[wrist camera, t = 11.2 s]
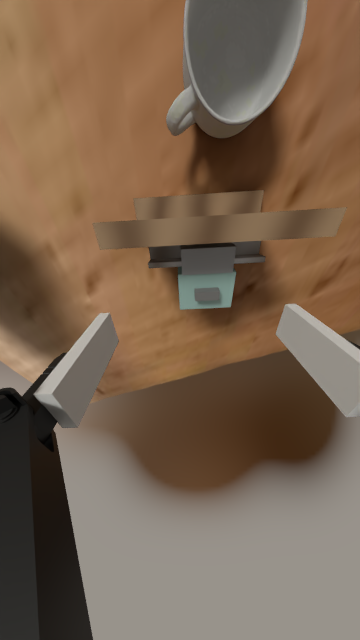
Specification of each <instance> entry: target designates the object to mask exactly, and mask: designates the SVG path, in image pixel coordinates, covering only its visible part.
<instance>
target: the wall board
mask: <svg viewBox="0 0 360 640" xmlns="http://www.w3.org/2000/svg"><path fill="white" fill-rule="evenodd" d="M263 193H264V190H257V191H241V192H226V193H211V194H195V195H180V196H164V197H149V198H134V199H133V200H134V206H135V212H136V218H137V220H133V221H116V222H100V223H93V227H94V230H95V234H96V237H97V241H98V244H99V248H100V250H104V249H122V248H139V247H149V251H150V258H151V260H150V261H149V263H148V265H149V268H163V267H181V266H182V263H181V245H192V244H210V243H227V242H232V243H233V244H234V245H235V246H236V252H235V259H234V264H238V263H256V262H265V256H263V255H260V254H259V249H260V244H261V241H262V240H280V239H298V238H315V237H333V236H336V233H337V231H338V228H339V226H340V223H341V221H342V219H343V216H344V214H345V211H346V209H347V207H345V208H329V209H312V210H296V211H280V212H263V213H260V210H261V205H262V199H263Z"/></svg>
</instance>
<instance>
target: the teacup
mask: <svg viewBox="0 0 360 640" xmlns="http://www.w3.org/2000/svg"><path fill="white" fill-rule="evenodd" d="M306 11H307V0H186V3H185V12H184V47H183V80H184V89H185V90H184V91H183V92H182V93H181V94H180V95H179V96H178V97H177V98H176V100H175V101H174V102H173V104H172V106H171V107H170V109H169V112H168V114H167V119H166V122H167V126H168V129H169V130H170V132H171V133H172V134H173V135H174V136H177V135H179V134H181V133H182V132H184V131H185V130H186V129H187V128H188V127H190V126H191V125H193V124H194V123H197V124H198V126H199V127H200V128H201V129H202V130H203V131H204V132H205V133H207V134H208V135H210V136H212V137H215V138H228V137H231V136H234V135H236V134H238V133H239V132H241V131H242V130H244V129H245V128H246V127H247V126H248V125H250V124H251V123H252V122H253V121H254V120H255V119H256V118H257V117H258V116H259V115H260V114H262V113H263V112H264V111H265V110H266V109H267V108H268V107H269V106H270V105H271V104H272V102H273V101H274V100H275V98H276V97H277V96H278V94H279V93H280V91H281V89H282V88H283V86H284V84H285V82H286V81H287V79H288V77H289V75H290V72H291V70H292V68H293V65H294V63H295V60H296V57H297V54H298V51H299V48H300V44H301V40H302V36H303V31H304V25H305V19H306Z"/></svg>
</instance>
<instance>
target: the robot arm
mask: <svg viewBox="0 0 360 640" xmlns="http://www.w3.org/2000/svg"><path fill="white" fill-rule="evenodd" d="M276 335H277V336H278V338H279V339H280V340H281V341H282V342H283V343H284V345H285V346H286V347H287V348H288V349H289V350H290V351H291V352H292V354H293V355H294V356H295V358H297V360H298V361H299V362H300V363H301V365H302V366H303V367H304V368H305V369H306V370H307V372H308V373H309V374H310V375H311V376H312V377H313V379H314V380H315V381H316V382H317V383H318V384H319V386H320V387H321V388H322V389H323V390H324V392H325V393H326V394H327V395H328V396H329V397H330V399H331V400H332V401H333V402H334V403H335V405H336V406H337V407H338V408H339V409H340V410H341V412H342V413H343V414H344V415H345V416H346V417H356V416H360V346H358V345H356V344H354V343H352V342H350V341H348V340H345V339H344V338H343V337H341V336H340V335H338V334H337V333H336V332H334V331H333V330H332V329H330V328H329V327H327V326H326V325H325V324H323V323H322V322H320V321H319V320H318V319H316V318H315V317H313V316H312V315H311V314H309V313H308V312H306V311H305V310H304V309H302V308H301V307H300V306H298V305H297V304H285V307H284V310H283V313H282V316H281V319H280V322H279V325H278V328H277V331H276ZM118 342H119V340H118V337H117V334H116V331H115V328H114V324H113V321H112V318H111V315H110V313H100V314H99V315H98V316H97V317H96V318H95V320H94V321H93V322H92V323H91V325H90V326H89V327H88V328H87V329H86V331H85V332H84V333H83V334H82V336H81V337H80V338H79V339H78V340H77V342H76V343H75V344H74V345H73V347H72V348H71V349H70V350H69V351H68V353H63V354H61V355H60V356H58V357H57V358H56V359H54V361H53V362H52V363H51V364H50V365H49V366H48V368H47V369H46V370H45V371H44V372H43V374H41V375H40V377H39V378H38V379H37V380H36V381H35V382H34V383H33V385H32V386H31V387H30V388H29V389H28V390H27V392H26V393H25V394H24V395H23V396H21V395H20V394H19V393H18V392H17V391H16V390H15V389H13V388H3V389H0V640H93V637H92V632H91V627H90V621H89V615H88V610H87V604H86V599H85V593H84V588H83V582H82V577H81V571H80V566H79V561H78V555H77V549H76V544H75V538H74V533H73V527H72V522H71V516H70V511H69V505H68V500H67V494H66V489H65V483H64V478H63V472H62V467H61V462H60V456H59V450H58V445H57V439H56V434H55V432H54V430H53V428H54V427H55V425H56V423H57V422H58V423H59V425H61V427H62V428H75V427H78V426H79V424H80V422H81V419H82V418H83V416H84V413H85V411H86V409H87V407H88V405H89V403H90V401H91V399H92V397H93V395H94V392H95V390H96V388H97V386H98V384H99V382H100V380H101V378H102V376H103V374H104V371H105V369H106V367H107V365H108V363H109V361H110V359H111V357H112V355H113V353H114V350H115V348H116V346H117V344H118Z"/></svg>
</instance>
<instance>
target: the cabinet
mask: <svg viewBox="0 0 360 640" xmlns="http://www.w3.org/2000/svg"><path fill="white" fill-rule="evenodd" d="M235 252H236V246H235V245H234V244H233V243H232V242H227V243H210V244H192V245H181V263H182V266H181V267H178V284H179V301H180V310H181V309H202V308H223V307H231V302H232V296H233V289H234V283H235V277H236V271H235V269H234V268H233V266H234V259H235Z"/></svg>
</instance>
